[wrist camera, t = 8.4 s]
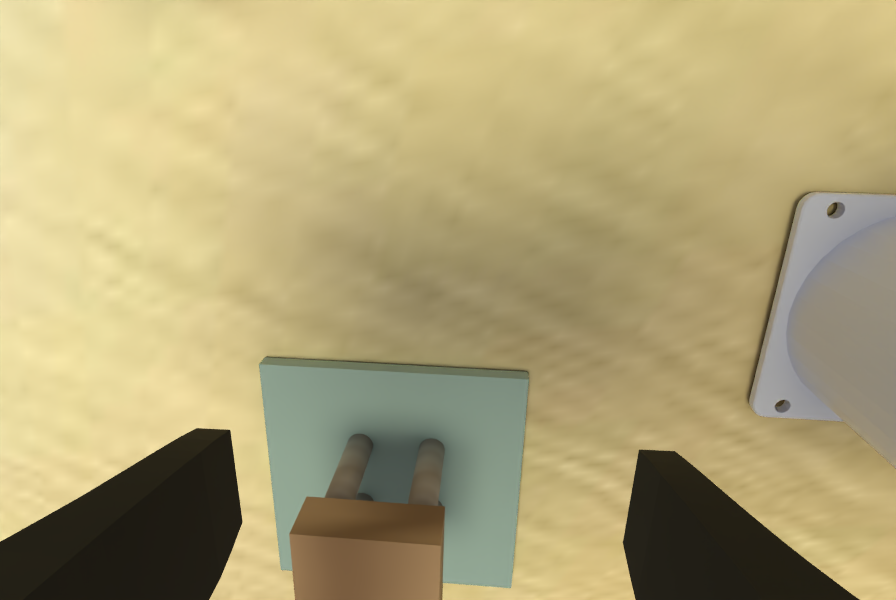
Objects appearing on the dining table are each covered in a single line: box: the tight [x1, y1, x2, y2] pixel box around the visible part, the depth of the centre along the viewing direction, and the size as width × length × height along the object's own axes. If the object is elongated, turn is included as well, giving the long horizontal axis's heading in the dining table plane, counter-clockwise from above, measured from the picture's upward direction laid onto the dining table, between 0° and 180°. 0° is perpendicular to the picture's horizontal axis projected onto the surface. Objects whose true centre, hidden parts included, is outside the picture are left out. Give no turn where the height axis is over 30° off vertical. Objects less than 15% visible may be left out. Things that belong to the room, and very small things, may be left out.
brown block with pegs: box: [289, 434, 445, 600], centre depth 19 cm, size 4×4×6 cm
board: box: [259, 357, 529, 588], centre depth 22 cm, size 10×10×1 cm
